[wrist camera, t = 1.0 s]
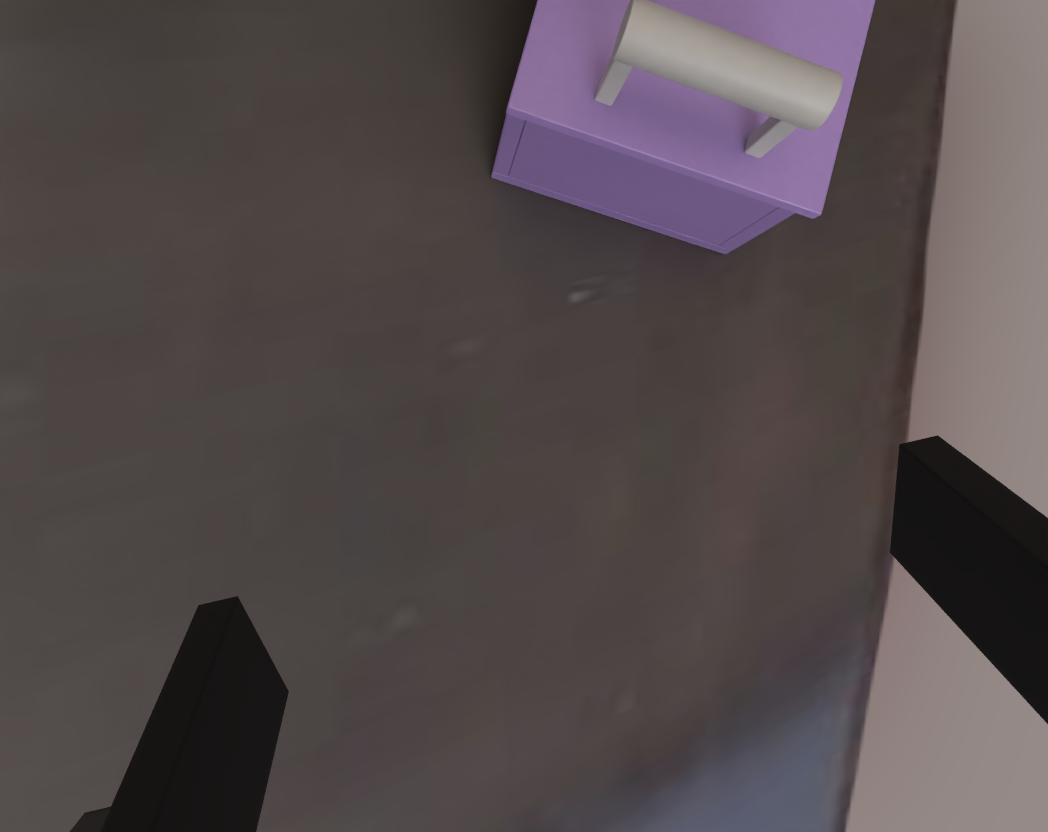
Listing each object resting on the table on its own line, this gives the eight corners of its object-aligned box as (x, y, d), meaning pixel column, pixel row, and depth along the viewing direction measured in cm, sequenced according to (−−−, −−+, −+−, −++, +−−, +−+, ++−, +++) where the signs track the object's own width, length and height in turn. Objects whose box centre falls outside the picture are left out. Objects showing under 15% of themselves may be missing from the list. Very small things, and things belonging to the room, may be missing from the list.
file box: (725, 255, 35) (817, 200, 27) (490, 178, 33) (511, 94, 25) (802, -42, 36) (914, -183, 28) (578, -132, 34) (625, -309, 26)
